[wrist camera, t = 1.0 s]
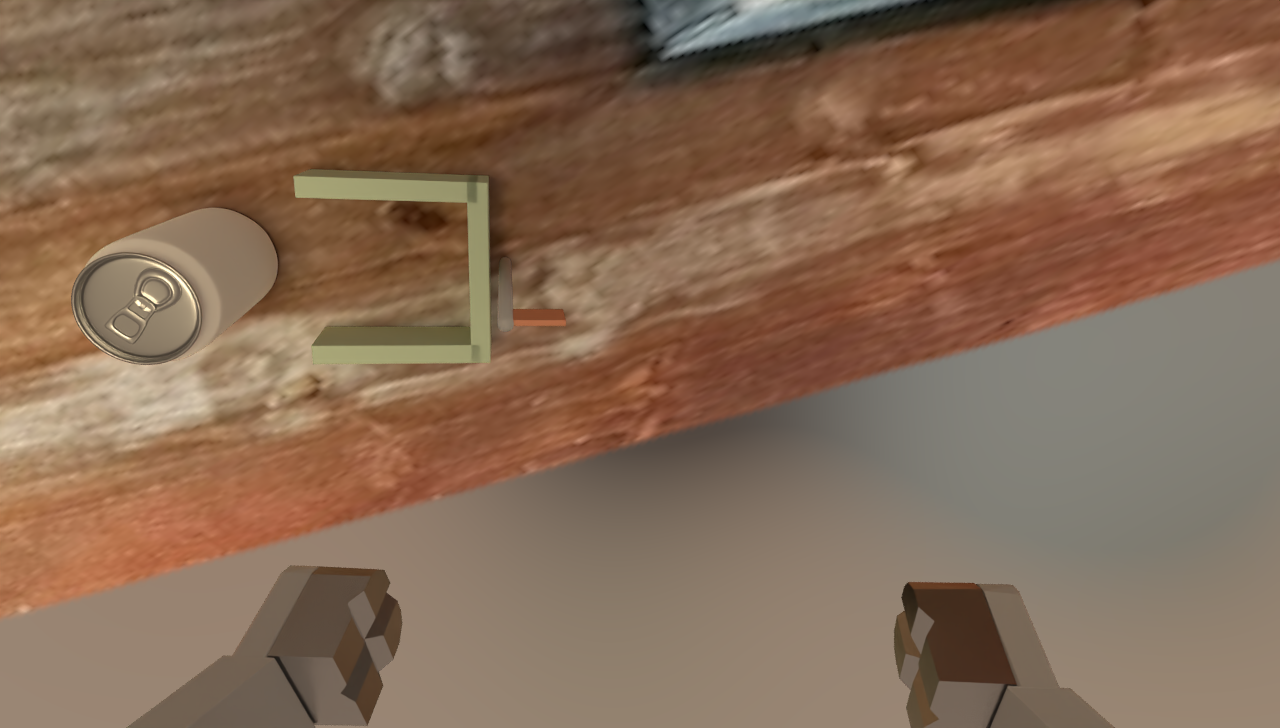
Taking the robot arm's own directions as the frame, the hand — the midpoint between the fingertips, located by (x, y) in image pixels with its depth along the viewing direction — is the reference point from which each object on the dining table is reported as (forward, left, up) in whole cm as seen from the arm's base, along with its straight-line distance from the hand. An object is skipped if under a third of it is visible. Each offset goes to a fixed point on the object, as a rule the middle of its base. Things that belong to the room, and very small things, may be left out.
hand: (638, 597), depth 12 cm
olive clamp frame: (-3, -7, -40) cm, 41 cm away
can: (-14, -14, -40) cm, 45 cm away
